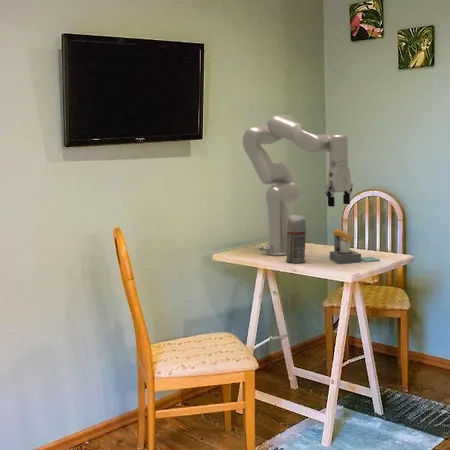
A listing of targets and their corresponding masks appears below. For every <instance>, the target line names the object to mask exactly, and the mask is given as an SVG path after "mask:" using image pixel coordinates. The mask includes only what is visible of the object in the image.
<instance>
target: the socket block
mask: <svg viewBox="0 0 450 450" xmlns="http://www.w3.org/2000/svg"><path fill="white" fill-rule="evenodd" d="M350 251H351V253H350V254H340V253H339V251H334V250H332V251H329V260H330V261H332V262H334V263H336V264H338V265H344V264H353V263H354V264H355V263H362V261H361V257H362V254H361V253H359V252H357V251H354V250H352V249H350Z"/></svg>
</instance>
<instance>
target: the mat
mask: <svg viewBox="0 0 450 450" xmlns="http://www.w3.org/2000/svg"><path fill="white" fill-rule="evenodd" d="M380 261H381V259H379V258H377V257H375V256H365V257H364V256H363V257H362V256H361V262H363V263H372V262H380Z"/></svg>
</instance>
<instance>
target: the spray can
mask: <svg viewBox="0 0 450 450" xmlns="http://www.w3.org/2000/svg"><path fill="white" fill-rule="evenodd" d="M306 227H307V226H306V217H305V216H304V215H299V214H292V215H289V217H288V223H287V243H286V244H287V245H286V246H287V248H286V255H285V256H286V260H285V261H286V262H287V263H289V264H290V263H294V264H300V263H301V264H302V263H305V262H306V261H305V259H306V241H307V239H306V234H307V231H306Z"/></svg>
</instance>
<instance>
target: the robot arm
mask: <svg viewBox="0 0 450 450" xmlns="http://www.w3.org/2000/svg"><path fill="white" fill-rule="evenodd" d="M282 139H286V140H288V141H290V142H292V143H293V144H294V145H295V146H296V147H298V148H299V149H302V150H304V151H306V152H309V153H311V154H312V153H313V154H318V153H328V155H329V163H328V165H329V167H328V174H327V184H326V185H324V186H323V190H324V194H325V195H326V198H327V206H328V207H331V208H332V207H333V208H334V207H335V201H336V200H335V197H334V196H335V193H343V196H342V197H343V199H342V201H343V204H344V205H351V194H352V192H353V187H354V183H353V182H352V181H351V180H352V177H351V172H350V171H351V170H350V167H349V165H348V163H349V161H348V159H349V158H348V156H349V155H348V154H349V153H348V149H349V148H348V145H349V144H348V143H349V142H348V139H349V138H348V136H347V135H346V134H325V133H324V134H323V133H322V134H313V133H310V132H307V131H306V130H304V125H303V124H302V123H300V122H297V121H296V119H295V118H294V117H293V116H291V115H289V114H275V115H272V116H270V117H269V118H268V120H267V121H266V125H255V126H251V127H248V128H247V129H246V130H245V131H244V133H243V136H242V147H243V149H244V152H245V154H246V156H248V158H249V161H250V162H251V164H252V166H253V168H254V170H255V172H256V174H257V177H258V178H259V180H260V181H261V183H262V184H264V185H271V186H270V187H268V189H267V190H266V193H265V201H266V204H267V214H268V243H266V244H265V245H259V246H258V250H259V251H265V254H266V255H269V256H275V257H279V256H280V257H281V256H283V257H284V256H287V255H286V248H287V246H286V245H287V244H286V243H287V223H288V217H289V216H290V211H289V209H288V206H287V205H290V204H294V203H296V202H298V200H300V196H301V195H300V193H301V192H300V188H299V185H298V184H297V182H296V180H295V178H294V176H293V174H292V172H291V170H290V168H289V167H288V166H287V165H286V164H284V163H281V162H275V163H274V162H273V161H272V159H271V157H270V155H269V153H268V152H267V150H265V148H264V147H263V146H262V145H271V144H275V143H277V142H278V141H280V140H282Z"/></svg>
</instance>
